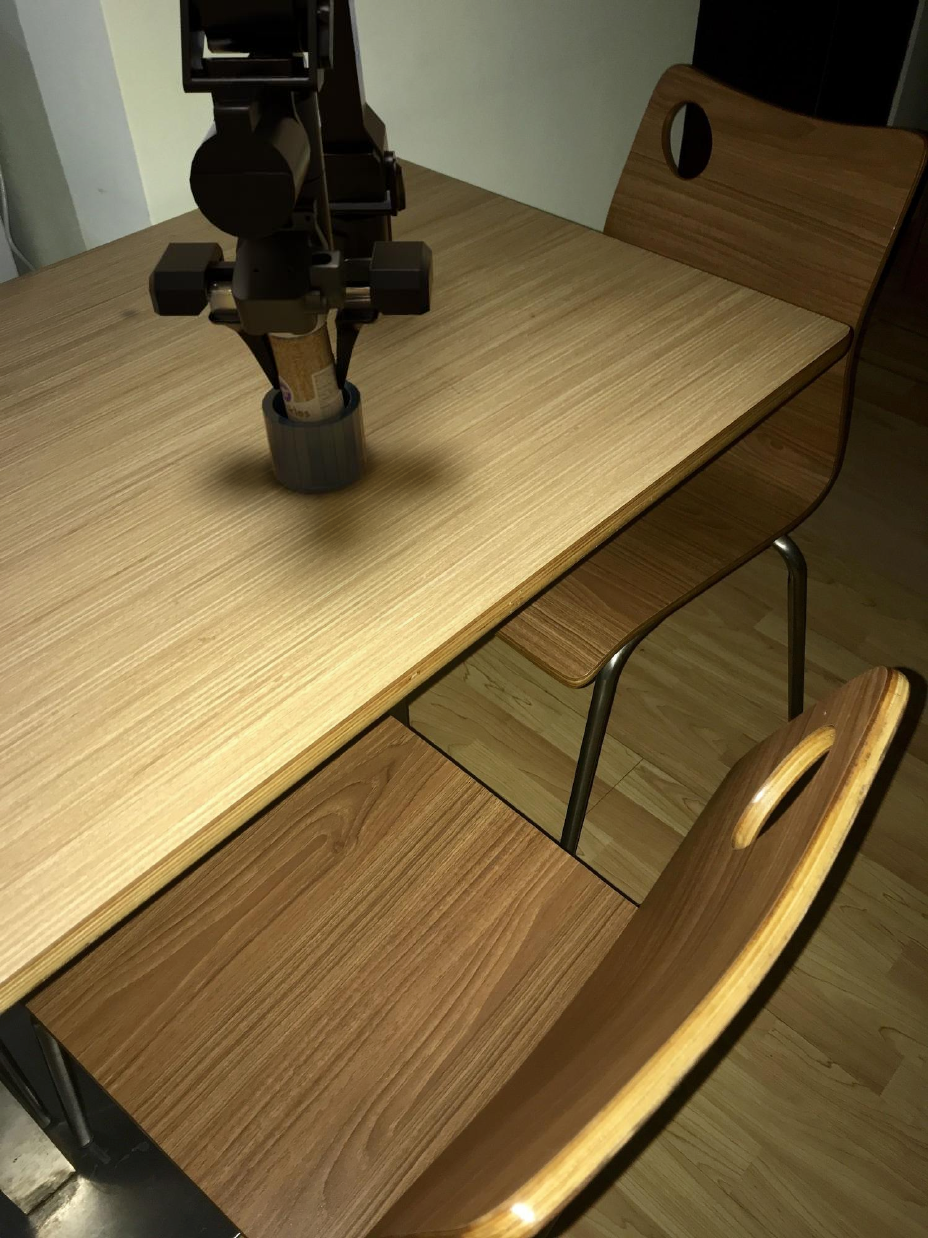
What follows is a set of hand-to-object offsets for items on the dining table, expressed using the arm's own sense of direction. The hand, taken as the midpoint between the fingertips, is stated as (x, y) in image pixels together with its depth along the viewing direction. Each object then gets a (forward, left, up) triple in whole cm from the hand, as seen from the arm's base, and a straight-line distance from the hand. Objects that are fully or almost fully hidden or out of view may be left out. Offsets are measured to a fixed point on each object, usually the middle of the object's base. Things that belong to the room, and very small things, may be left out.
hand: (310, 387), depth 74 cm
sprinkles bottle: (0, 0, -6) cm, 6 cm away
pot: (0, 0, -7) cm, 7 cm away
